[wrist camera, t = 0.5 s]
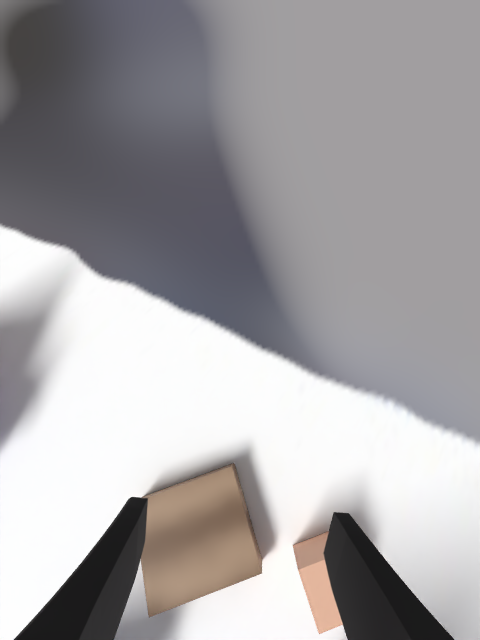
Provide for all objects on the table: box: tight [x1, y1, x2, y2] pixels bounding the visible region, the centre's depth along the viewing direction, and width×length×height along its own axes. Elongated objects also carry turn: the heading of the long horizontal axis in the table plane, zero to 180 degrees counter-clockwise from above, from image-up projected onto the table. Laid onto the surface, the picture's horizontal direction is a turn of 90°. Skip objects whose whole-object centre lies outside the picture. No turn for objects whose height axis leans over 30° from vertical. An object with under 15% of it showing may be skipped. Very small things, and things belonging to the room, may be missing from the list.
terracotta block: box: [293, 531, 343, 634], centre depth 25 cm, size 4×4×5 cm
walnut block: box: [141, 463, 262, 617], centre depth 29 cm, size 10×12×3 cm
